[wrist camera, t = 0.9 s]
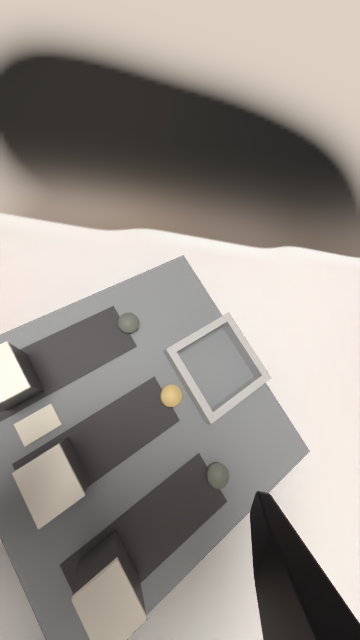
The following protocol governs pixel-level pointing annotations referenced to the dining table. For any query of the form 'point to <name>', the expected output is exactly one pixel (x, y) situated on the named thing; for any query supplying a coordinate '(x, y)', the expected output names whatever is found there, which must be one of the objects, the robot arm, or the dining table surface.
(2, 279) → the dining table surface
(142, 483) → the panel
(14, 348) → the block
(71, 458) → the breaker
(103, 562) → the breaker
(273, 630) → the robot arm
